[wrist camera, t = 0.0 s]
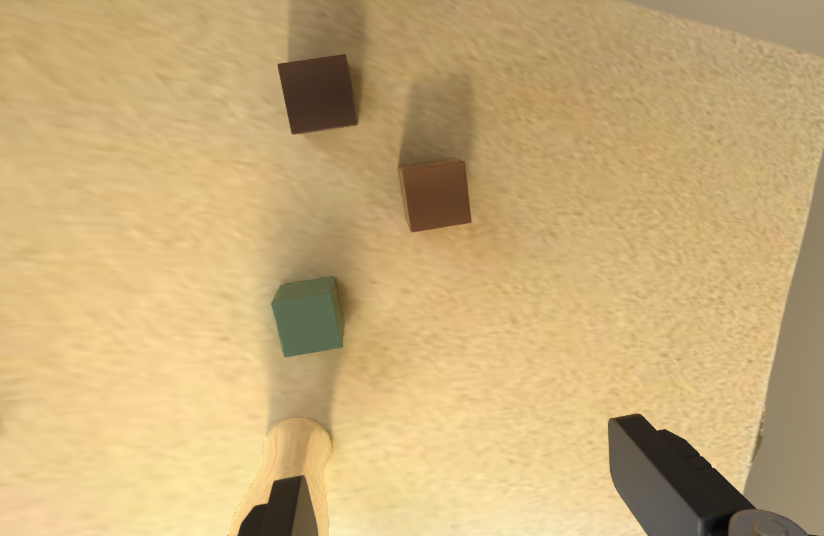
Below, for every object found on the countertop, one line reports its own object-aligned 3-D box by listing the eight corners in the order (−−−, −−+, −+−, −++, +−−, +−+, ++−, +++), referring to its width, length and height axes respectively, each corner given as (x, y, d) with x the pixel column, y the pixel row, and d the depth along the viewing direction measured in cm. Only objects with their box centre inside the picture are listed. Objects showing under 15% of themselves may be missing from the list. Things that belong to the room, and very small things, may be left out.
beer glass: (242, 451, 45) (185, 603, 31) (292, 397, 44) (257, 529, 30) (303, 492, 47) (276, 654, 32) (352, 441, 46) (347, 585, 31)
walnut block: (287, 71, 37) (277, 64, 33) (347, 62, 37) (345, 53, 33) (299, 134, 38) (291, 134, 34) (358, 125, 38) (357, 124, 34)
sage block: (280, 284, 41) (270, 303, 37) (334, 275, 41) (331, 292, 37) (291, 334, 42) (283, 358, 38) (344, 325, 43) (342, 347, 38)
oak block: (397, 165, 39) (401, 170, 35) (453, 157, 40) (464, 160, 35) (406, 221, 41) (411, 232, 36) (460, 212, 41) (471, 222, 37)
